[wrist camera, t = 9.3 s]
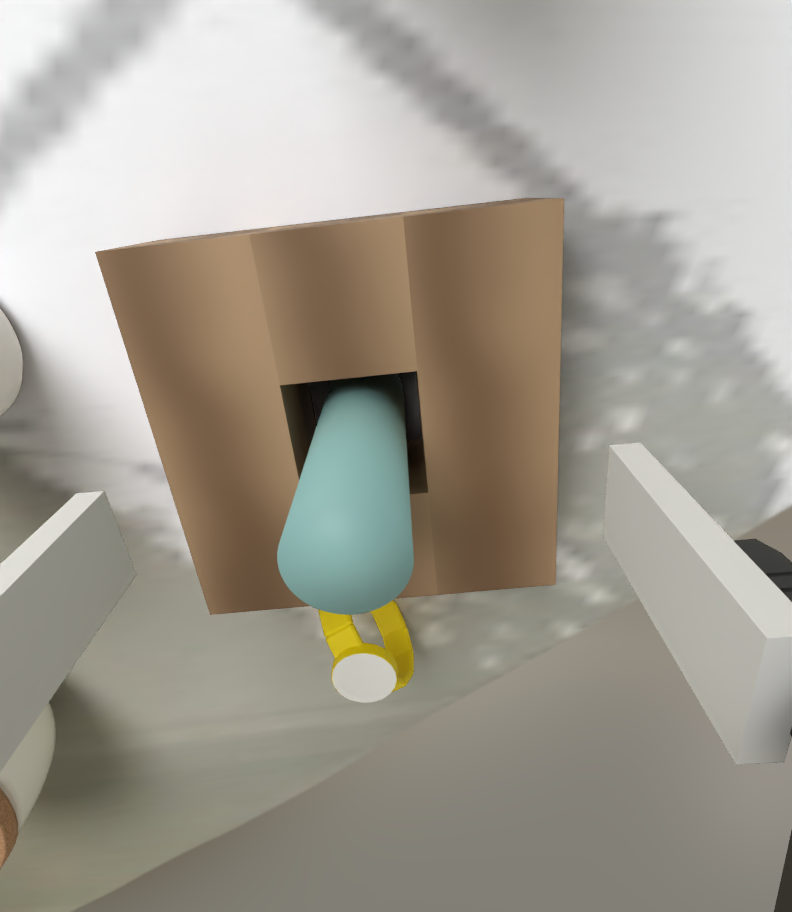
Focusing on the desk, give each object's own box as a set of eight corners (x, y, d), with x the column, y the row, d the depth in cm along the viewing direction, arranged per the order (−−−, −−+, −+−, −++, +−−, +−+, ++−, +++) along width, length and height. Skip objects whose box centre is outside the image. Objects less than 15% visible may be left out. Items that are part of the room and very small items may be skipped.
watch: (316, 561, 28) (291, 641, 22) (361, 536, 27) (346, 612, 22) (382, 642, 30) (374, 735, 24) (426, 620, 29) (428, 710, 24)
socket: (526, 198, 21) (564, 198, 16) (527, 518, 26) (555, 584, 22) (158, 239, 21) (95, 251, 17) (240, 544, 27) (210, 614, 23)
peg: (406, 424, 24) (419, 608, 14) (335, 431, 25) (291, 620, 14) (399, 353, 23) (406, 495, 12) (323, 361, 23) (264, 510, 12)
